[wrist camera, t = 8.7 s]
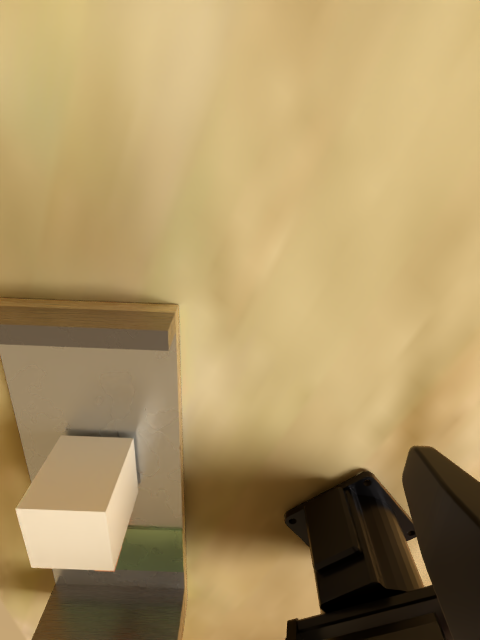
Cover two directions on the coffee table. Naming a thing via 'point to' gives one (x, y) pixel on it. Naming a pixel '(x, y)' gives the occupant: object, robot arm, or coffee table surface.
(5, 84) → the coffee table surface
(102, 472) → the cream rectangular block
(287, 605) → the coffee table surface
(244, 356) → the coffee table surface
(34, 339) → the gray display stand
